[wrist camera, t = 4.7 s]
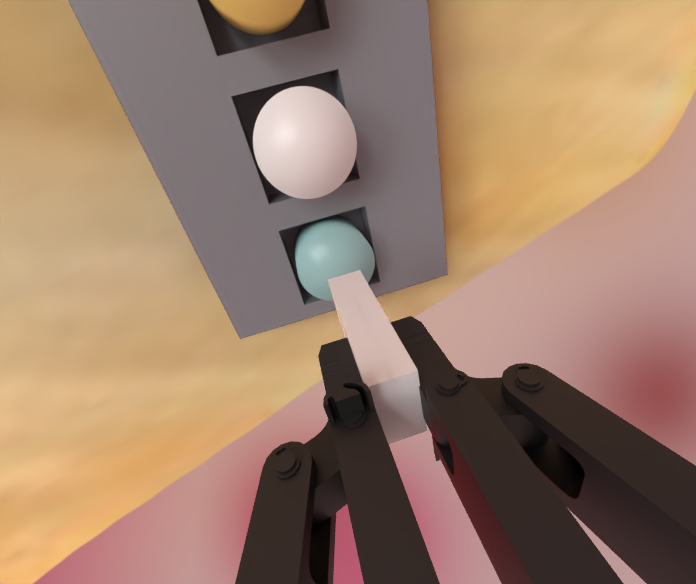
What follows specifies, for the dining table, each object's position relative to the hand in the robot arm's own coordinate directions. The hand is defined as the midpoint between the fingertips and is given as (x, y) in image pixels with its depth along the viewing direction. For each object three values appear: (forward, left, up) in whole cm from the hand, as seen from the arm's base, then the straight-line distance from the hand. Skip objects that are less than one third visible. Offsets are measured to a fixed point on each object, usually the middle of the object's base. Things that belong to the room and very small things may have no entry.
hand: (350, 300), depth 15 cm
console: (-6, 0, -8) cm, 10 cm away
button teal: (0, 0, -7) cm, 7 cm away
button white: (-6, 0, -5) cm, 8 cm away
